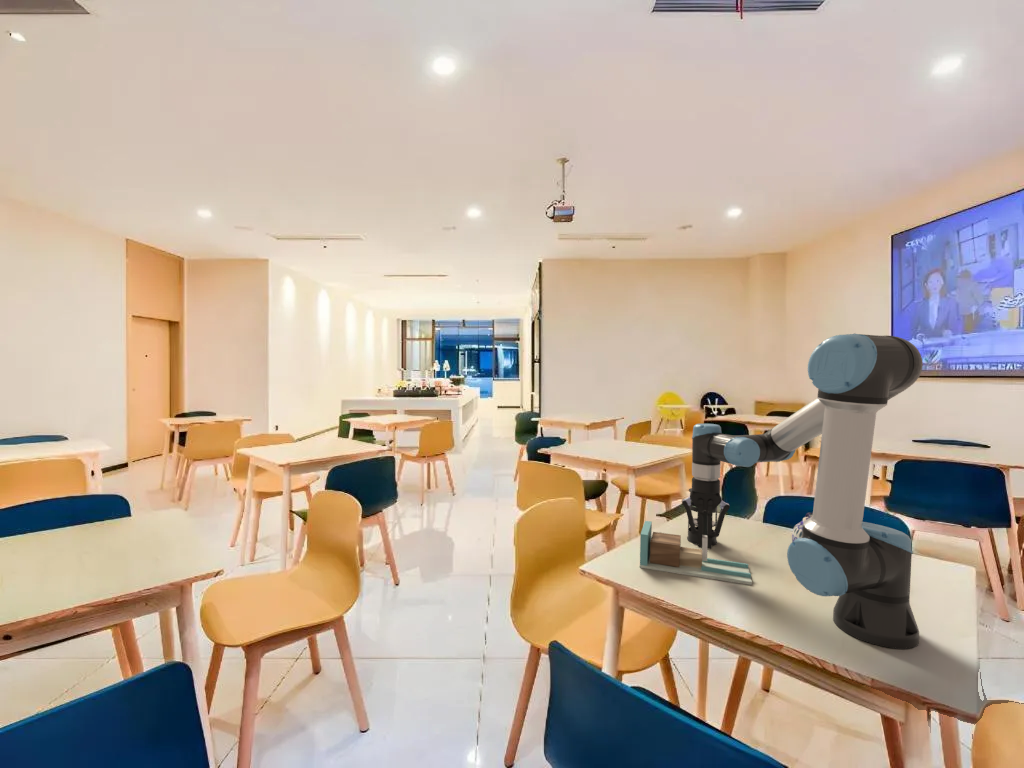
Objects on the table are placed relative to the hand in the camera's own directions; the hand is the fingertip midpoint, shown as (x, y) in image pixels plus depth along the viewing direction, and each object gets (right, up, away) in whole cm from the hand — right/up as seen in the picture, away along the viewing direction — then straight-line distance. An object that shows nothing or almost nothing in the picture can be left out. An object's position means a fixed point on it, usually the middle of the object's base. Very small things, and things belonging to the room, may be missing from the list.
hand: (704, 559), depth 137 cm
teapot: (+37, -3, +6) cm, 38 cm away
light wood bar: (-6, -2, +2) cm, 7 cm away
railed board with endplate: (-3, -3, +1) cm, 4 cm away
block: (-10, -1, +4) cm, 11 cm away
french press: (+8, -2, +22) cm, 24 cm away
